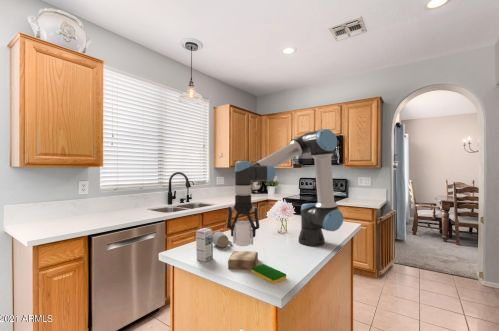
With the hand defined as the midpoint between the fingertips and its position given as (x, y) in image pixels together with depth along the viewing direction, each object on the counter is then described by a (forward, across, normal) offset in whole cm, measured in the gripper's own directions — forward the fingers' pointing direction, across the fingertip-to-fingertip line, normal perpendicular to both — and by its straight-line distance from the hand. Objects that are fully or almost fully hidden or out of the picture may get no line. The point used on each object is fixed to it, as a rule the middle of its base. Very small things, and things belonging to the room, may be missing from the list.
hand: (243, 243), depth 114 cm
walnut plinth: (+9, 0, 0) cm, 9 cm away
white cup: (0, 0, 0) cm, 0 cm away
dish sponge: (+10, -12, +11) cm, 19 cm away
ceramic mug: (+10, +16, -25) cm, 32 cm away
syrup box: (+10, +20, -4) cm, 23 cm away
